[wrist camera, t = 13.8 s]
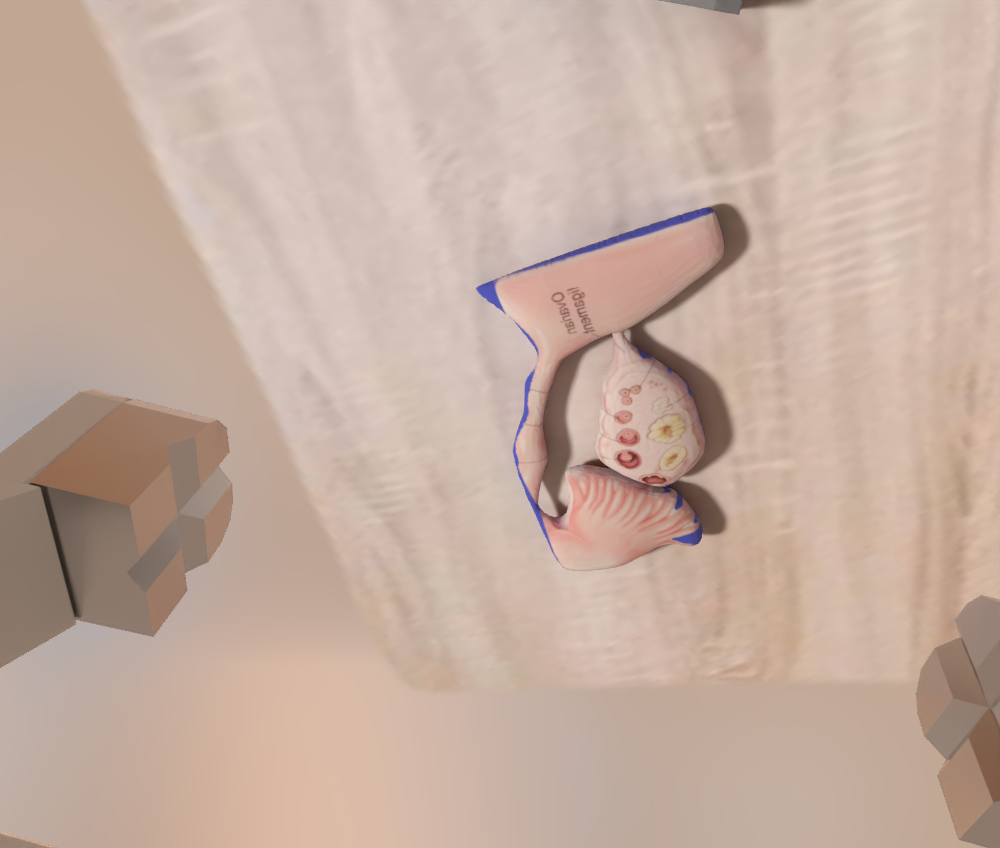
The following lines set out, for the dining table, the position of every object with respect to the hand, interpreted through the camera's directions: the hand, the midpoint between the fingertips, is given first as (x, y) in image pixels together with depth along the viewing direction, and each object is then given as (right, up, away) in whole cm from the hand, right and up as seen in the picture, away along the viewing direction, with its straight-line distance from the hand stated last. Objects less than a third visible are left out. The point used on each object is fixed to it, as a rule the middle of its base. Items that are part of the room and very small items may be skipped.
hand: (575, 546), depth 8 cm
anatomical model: (+7, +3, +36) cm, 36 cm away
